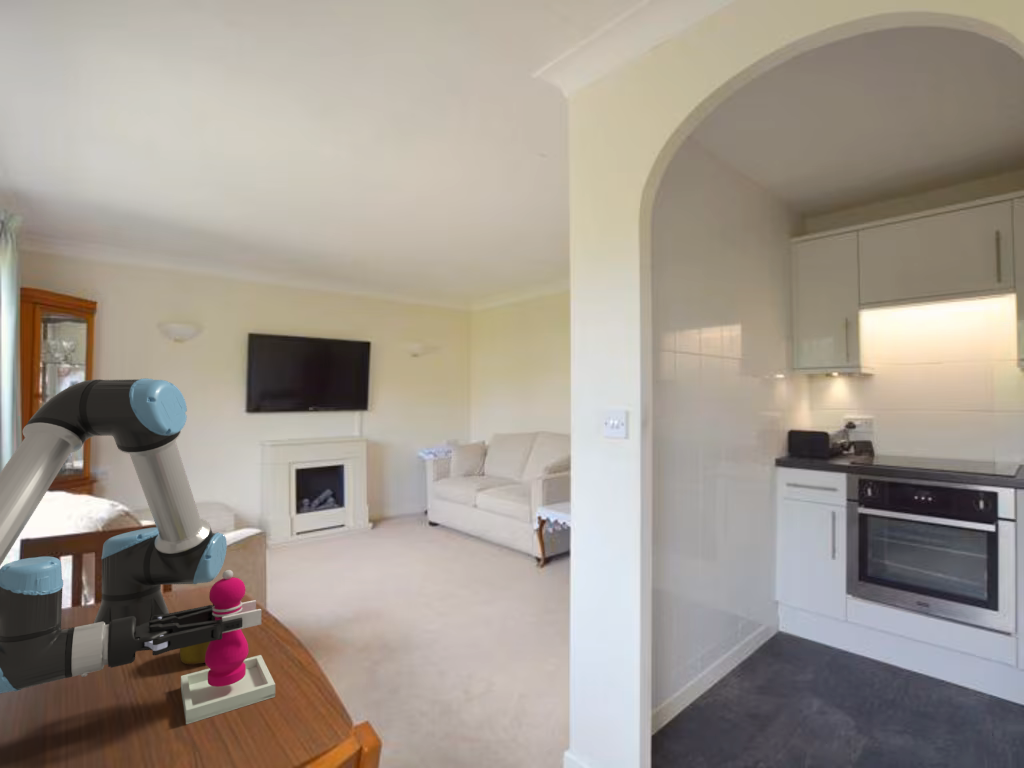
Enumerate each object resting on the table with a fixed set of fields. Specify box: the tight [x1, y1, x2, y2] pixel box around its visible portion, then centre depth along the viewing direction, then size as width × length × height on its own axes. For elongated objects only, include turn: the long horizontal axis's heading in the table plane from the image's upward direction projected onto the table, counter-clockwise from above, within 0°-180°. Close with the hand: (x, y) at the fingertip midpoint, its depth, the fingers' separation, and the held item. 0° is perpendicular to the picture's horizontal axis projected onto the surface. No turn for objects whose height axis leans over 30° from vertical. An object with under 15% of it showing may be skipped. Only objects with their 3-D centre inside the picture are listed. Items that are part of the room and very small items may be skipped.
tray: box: [180, 654, 276, 725], centre depth 99 cm, size 14×14×2 cm
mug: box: [179, 642, 210, 665], centre depth 114 cm, size 12×10×10 cm
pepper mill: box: [204, 569, 249, 687], centre depth 99 cm, size 7×7×20 cm
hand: (258, 611), depth 102 cm, fingers closed on pepper mill, 5 cm apart
